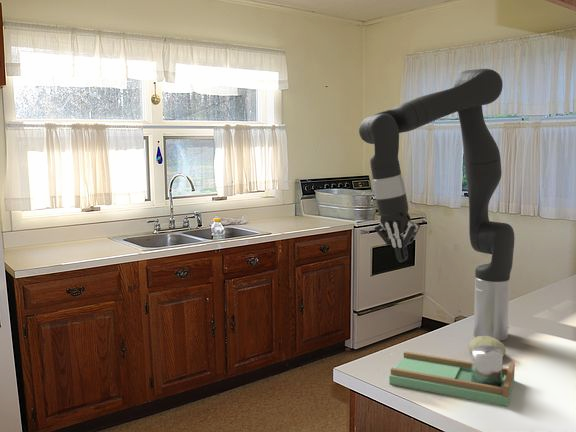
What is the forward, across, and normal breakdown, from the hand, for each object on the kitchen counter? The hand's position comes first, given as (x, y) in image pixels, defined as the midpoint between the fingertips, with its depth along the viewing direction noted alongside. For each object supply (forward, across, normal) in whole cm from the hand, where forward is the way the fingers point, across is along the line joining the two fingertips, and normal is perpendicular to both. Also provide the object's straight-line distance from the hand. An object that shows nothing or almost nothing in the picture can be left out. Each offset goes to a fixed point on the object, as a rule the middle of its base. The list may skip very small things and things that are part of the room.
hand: (402, 260), depth 139 cm
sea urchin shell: (+30, -10, -14) cm, 35 cm away
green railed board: (+27, -13, +7) cm, 31 cm away
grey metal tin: (+27, -20, +4) cm, 34 cm away
